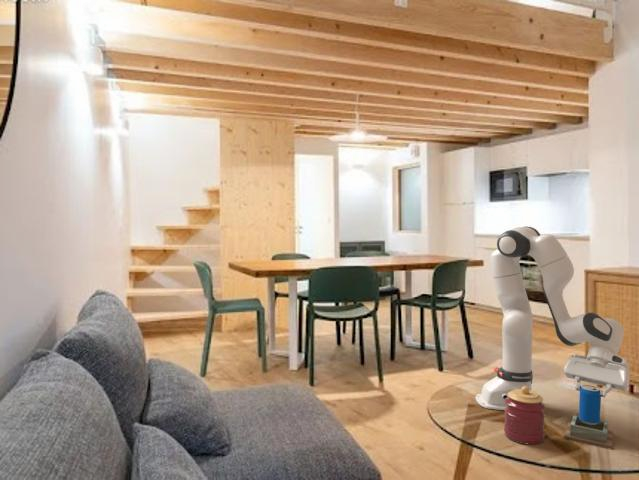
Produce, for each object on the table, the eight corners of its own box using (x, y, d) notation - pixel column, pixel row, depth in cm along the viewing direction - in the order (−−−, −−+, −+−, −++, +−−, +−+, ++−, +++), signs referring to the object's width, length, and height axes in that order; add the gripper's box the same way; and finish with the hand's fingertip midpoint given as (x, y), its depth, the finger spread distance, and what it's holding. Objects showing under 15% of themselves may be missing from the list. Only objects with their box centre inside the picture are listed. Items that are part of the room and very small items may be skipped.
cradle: (611, 449, 162) (612, 435, 161) (564, 438, 169) (564, 425, 169) (613, 433, 173) (613, 421, 173) (568, 424, 181) (569, 412, 181)
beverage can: (599, 427, 166) (600, 392, 166) (577, 422, 170) (579, 388, 170) (600, 421, 172) (601, 387, 171) (579, 416, 175) (580, 383, 175)
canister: (507, 425, 179) (508, 377, 178) (546, 434, 172) (548, 384, 172) (500, 439, 168) (501, 388, 167) (541, 448, 161) (543, 395, 160)
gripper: (568, 348, 182) (556, 380, 176) (631, 361, 167) (620, 396, 161) (572, 358, 186) (561, 389, 179) (634, 371, 170) (624, 406, 164)
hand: (589, 393), depth 170 cm, fingers closed on beverage can, 6 cm apart
